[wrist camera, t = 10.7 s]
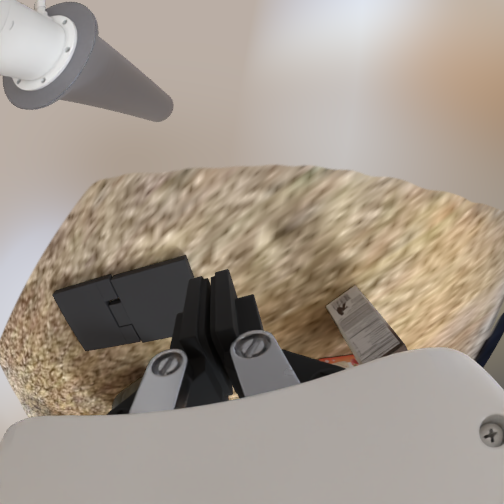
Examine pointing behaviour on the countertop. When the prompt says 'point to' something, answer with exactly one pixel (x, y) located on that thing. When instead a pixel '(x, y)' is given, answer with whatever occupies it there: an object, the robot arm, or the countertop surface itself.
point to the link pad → (152, 297)
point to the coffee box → (363, 327)
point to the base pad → (94, 314)
